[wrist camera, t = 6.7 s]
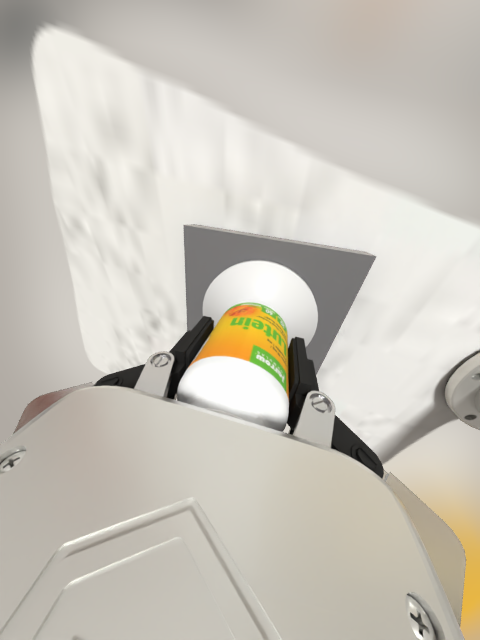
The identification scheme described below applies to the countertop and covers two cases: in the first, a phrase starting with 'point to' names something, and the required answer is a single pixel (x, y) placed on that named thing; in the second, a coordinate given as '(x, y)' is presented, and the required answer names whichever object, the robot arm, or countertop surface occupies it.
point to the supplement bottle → (242, 367)
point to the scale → (273, 281)
